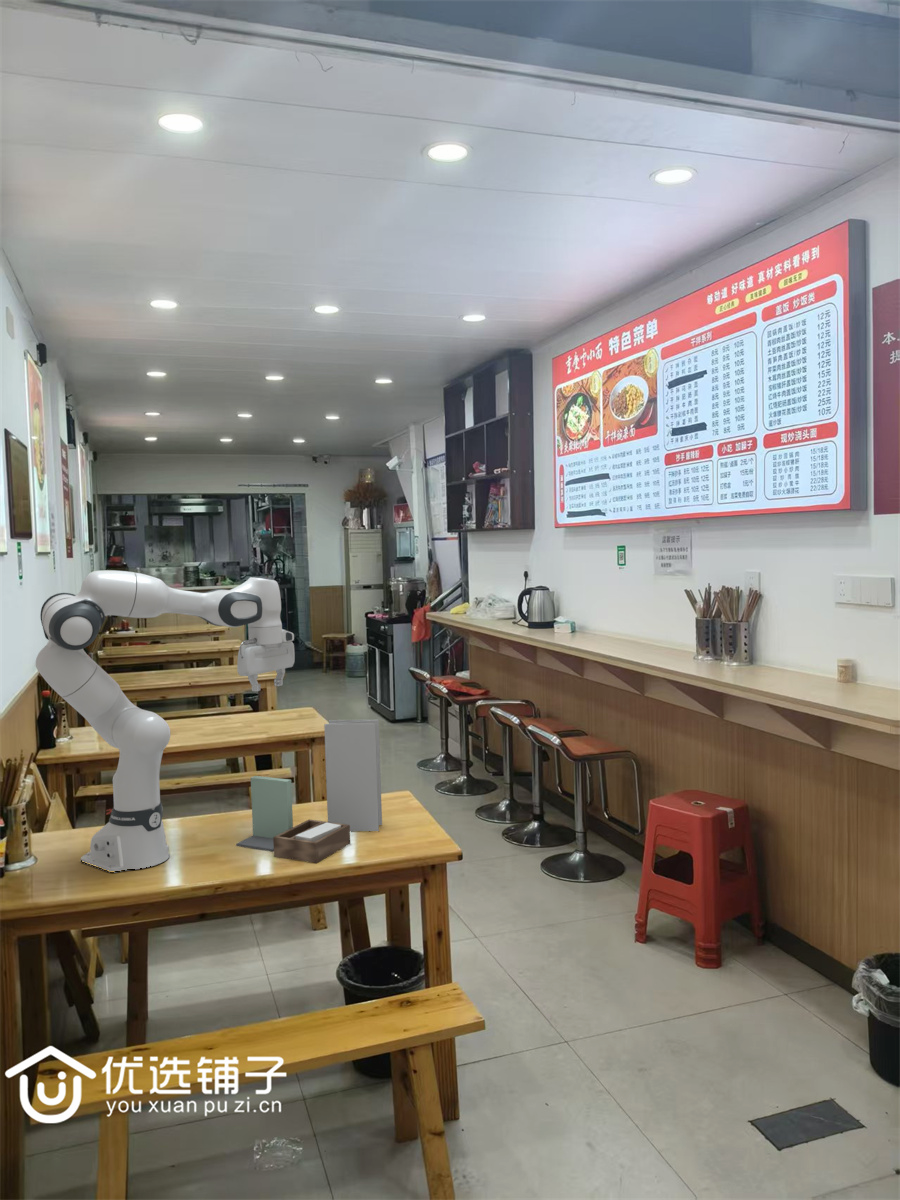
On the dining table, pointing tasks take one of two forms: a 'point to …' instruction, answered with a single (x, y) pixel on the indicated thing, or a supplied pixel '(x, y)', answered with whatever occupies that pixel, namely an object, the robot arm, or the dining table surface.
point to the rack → (310, 842)
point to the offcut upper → (318, 832)
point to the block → (271, 806)
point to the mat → (258, 843)
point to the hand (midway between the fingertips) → (267, 688)
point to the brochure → (353, 773)
